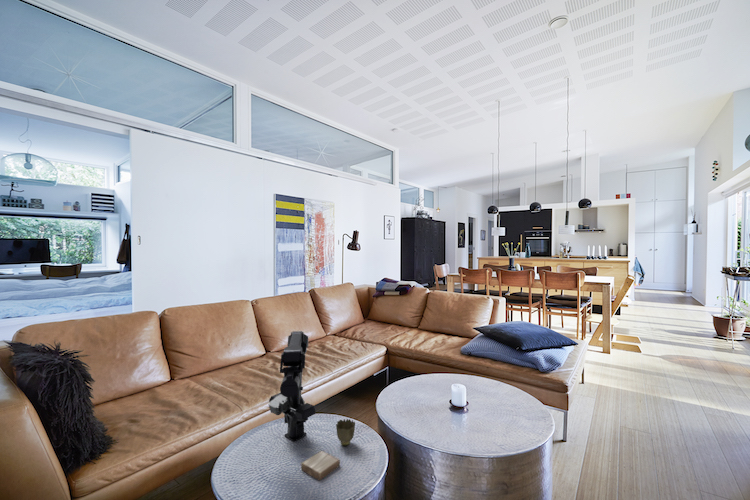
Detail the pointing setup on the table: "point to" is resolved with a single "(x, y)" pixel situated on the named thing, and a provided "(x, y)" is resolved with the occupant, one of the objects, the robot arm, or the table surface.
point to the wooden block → (320, 465)
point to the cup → (345, 431)
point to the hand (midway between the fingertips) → (291, 429)
